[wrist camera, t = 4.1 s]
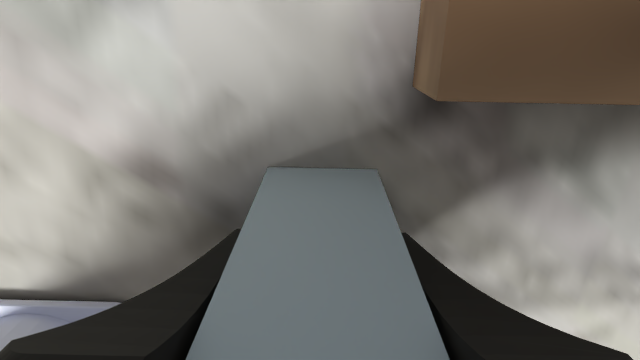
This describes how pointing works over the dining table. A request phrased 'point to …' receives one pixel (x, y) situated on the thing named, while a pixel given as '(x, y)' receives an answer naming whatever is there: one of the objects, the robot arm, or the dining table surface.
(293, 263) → the long peg
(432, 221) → the dining table surface
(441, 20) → the plate
